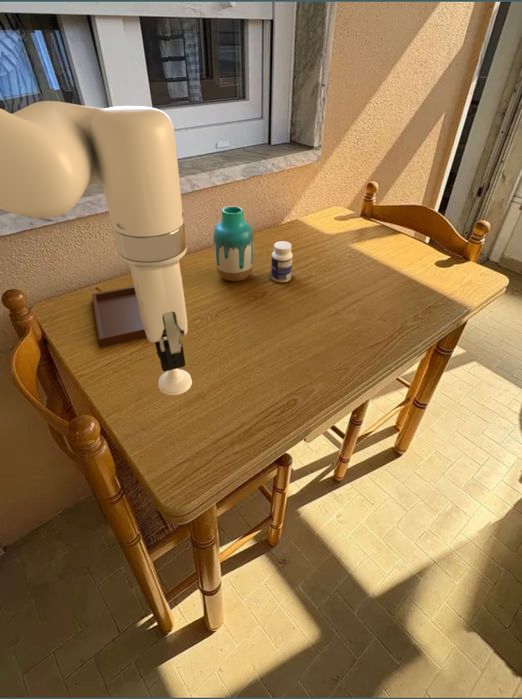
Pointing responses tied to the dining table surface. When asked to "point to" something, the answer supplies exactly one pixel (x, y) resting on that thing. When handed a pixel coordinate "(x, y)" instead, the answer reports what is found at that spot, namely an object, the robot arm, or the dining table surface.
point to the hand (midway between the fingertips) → (171, 360)
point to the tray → (117, 316)
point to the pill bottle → (281, 262)
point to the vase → (233, 245)
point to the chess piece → (175, 381)
